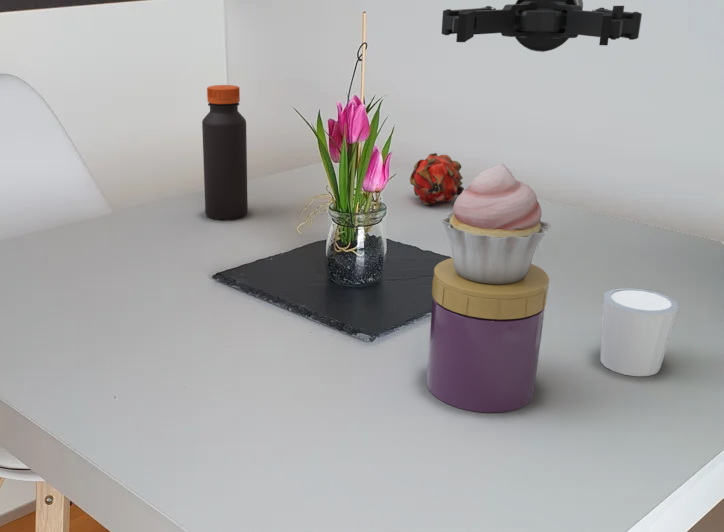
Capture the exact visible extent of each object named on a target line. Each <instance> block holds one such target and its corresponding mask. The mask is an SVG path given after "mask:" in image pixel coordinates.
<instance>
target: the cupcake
mask: <svg viewBox="0 0 724 532" xmlns="http://www.w3.org/2000/svg"><path fill="white" fill-rule="evenodd" d="M542 211H543V210H542V207H541V204H540V202H539V201H538V197H537V194H536V192H535V191H534V190H533V189H532V187H531V186H530V185H529V184H527V183H525V182H523V181H520V180H517V179H516V178H515V176H514V175H513V173H512V171H511V170H510V168H508V167H507V166H506V164H504V163H502V162H501V163H499V164H497V165H495V166H493V167H490V168H486V169H484V170H483V171H482V172H480V173H479V174H477V176H476V177H475V178H473V179H472V181H471V182H470V183H469V185H468V186H467V188H466V189H464V190H463V192H462V193H461V194H460V195H457V198H456V199H455V201H454V203H453V209H452V211H450V212H447V213H446V215H447V217H444V218H442V219H440V222H441V224H442V226H443V228H444V231H445V233H446V235H447V238H448V241H449V247H450V250H451V255H452V258H453V262H454V268H455V270H456V272H457V273H458V274H459V275H460V276H462V277H464V278H466V279H469V280H472V281H476V282H481V283H488V284H507V283H513V282H517V281H520V280H522V279H523V278H524V277H525V276H526V274H527V273H528V270H529V267H530V265H531V264H532V262H533V260H534V259H533V258H534V256H535V253H536V251H537V247H538V245H539V244H540V243H541V241H542V240H543V238H544V236H546V233H547V231H548V230H549V228H550V227H551V226H552V224H550V223H549V222H548V223H547V222H545V221H541V219H542V217H543V216H542V214H543V212H542Z"/></svg>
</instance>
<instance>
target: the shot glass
mask: <svg viewBox="0 0 724 532" xmlns="http://www.w3.org/2000/svg"><path fill="white" fill-rule="evenodd" d="M679 308H680V305H679V303H678V301H677V300H675V299H674V298H673V297H671V296H668V295H666V294H664V293H662V292H658V291H654V290H650V289H647V288H645V289H644V288H635V287H619V288H614V289H610V290H608V291H606V292H605V293H604V294H603V306H602V321H601V322H602V324H601V338H600V339H601V342H600V356H599V357H600V363H601V364H602V365H603V366H604V367H605V368H606V369H608V370H610V371H611V372H614V373H618V374H621V375H625V376H631V377H650V376H653V375H657V373H658V372H659V371H660V370H661V367H662V365H663V360H664V358H665V355H666V351H667V348H668V345H669V342H670V338H671V335H672V331H673V328H674V325H675V321H676V318H677V315H678V312H679Z"/></svg>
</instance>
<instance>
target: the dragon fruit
mask: <svg viewBox="0 0 724 532" xmlns="http://www.w3.org/2000/svg"><path fill="white" fill-rule="evenodd" d="M461 169H462V165H461V163H460V162H459V161H456V160H452V158H451V156H450V155H447V154H439V155H438V153H437V152H433V153H429V154H428V155H427V157H426V158H425V159H419V160H418V161H416V162H415V164H414V165H413V170H412V173H411V174H410V177H409V184H410V185H413V192H414V196H416V197H418V198H419V200H420V201H421V203H422V204H424V205H425V206H431V205H434V204H435V203H436V202H440V203H443V202H444V203H449V202H451V201H452V200H453V199H454V198H455V197H456V196H459V195H460V194H461V193H462V192H463V191H465V188H464V187H463V186H462V185H463V182H462V180H463V178H464V177H463V176H462V174H461V172H460V170H461Z"/></svg>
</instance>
